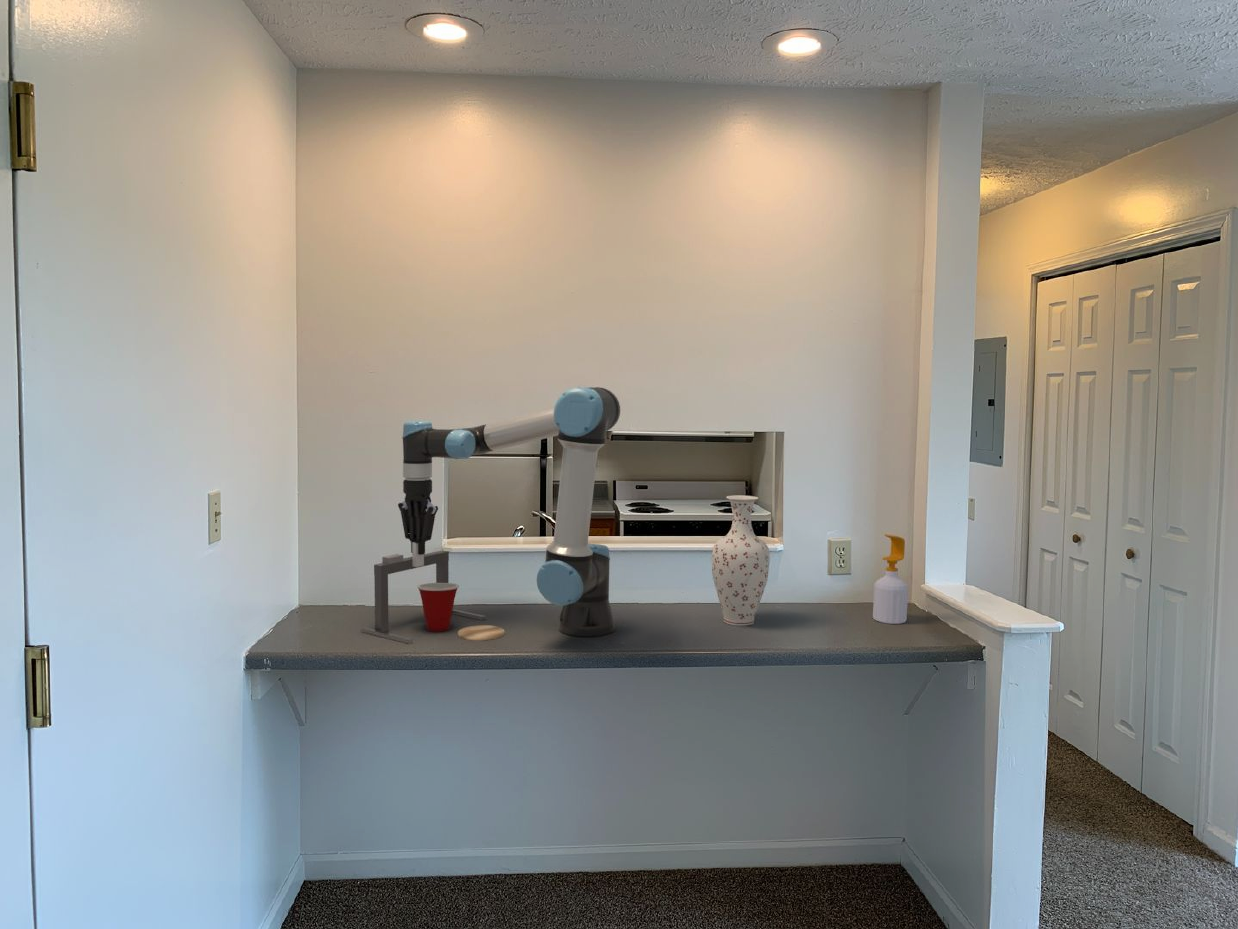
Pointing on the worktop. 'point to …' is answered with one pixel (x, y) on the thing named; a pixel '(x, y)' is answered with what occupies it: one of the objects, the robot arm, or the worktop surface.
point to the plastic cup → (438, 604)
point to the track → (409, 640)
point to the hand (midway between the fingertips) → (418, 565)
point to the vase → (740, 565)
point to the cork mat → (481, 632)
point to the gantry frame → (397, 565)
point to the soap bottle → (891, 588)
